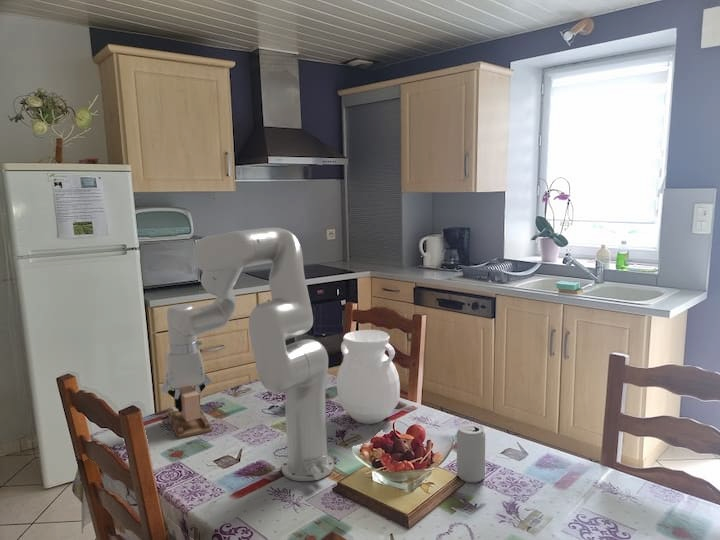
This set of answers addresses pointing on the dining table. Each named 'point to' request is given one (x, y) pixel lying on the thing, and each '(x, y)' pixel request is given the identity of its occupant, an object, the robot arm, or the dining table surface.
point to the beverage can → (471, 452)
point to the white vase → (368, 376)
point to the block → (190, 403)
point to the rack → (188, 424)
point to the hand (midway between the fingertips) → (188, 408)
